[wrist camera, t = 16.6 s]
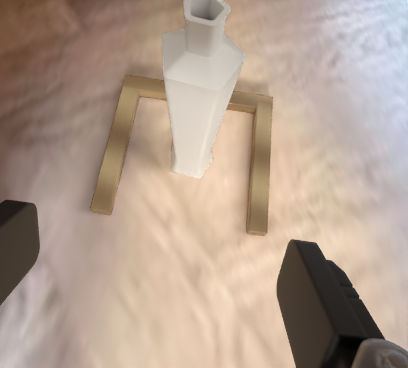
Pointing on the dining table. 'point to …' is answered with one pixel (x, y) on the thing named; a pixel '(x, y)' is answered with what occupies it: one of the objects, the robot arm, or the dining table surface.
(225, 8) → the white faceted vase
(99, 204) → the brass frame
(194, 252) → the dining table surface
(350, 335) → the robot arm
